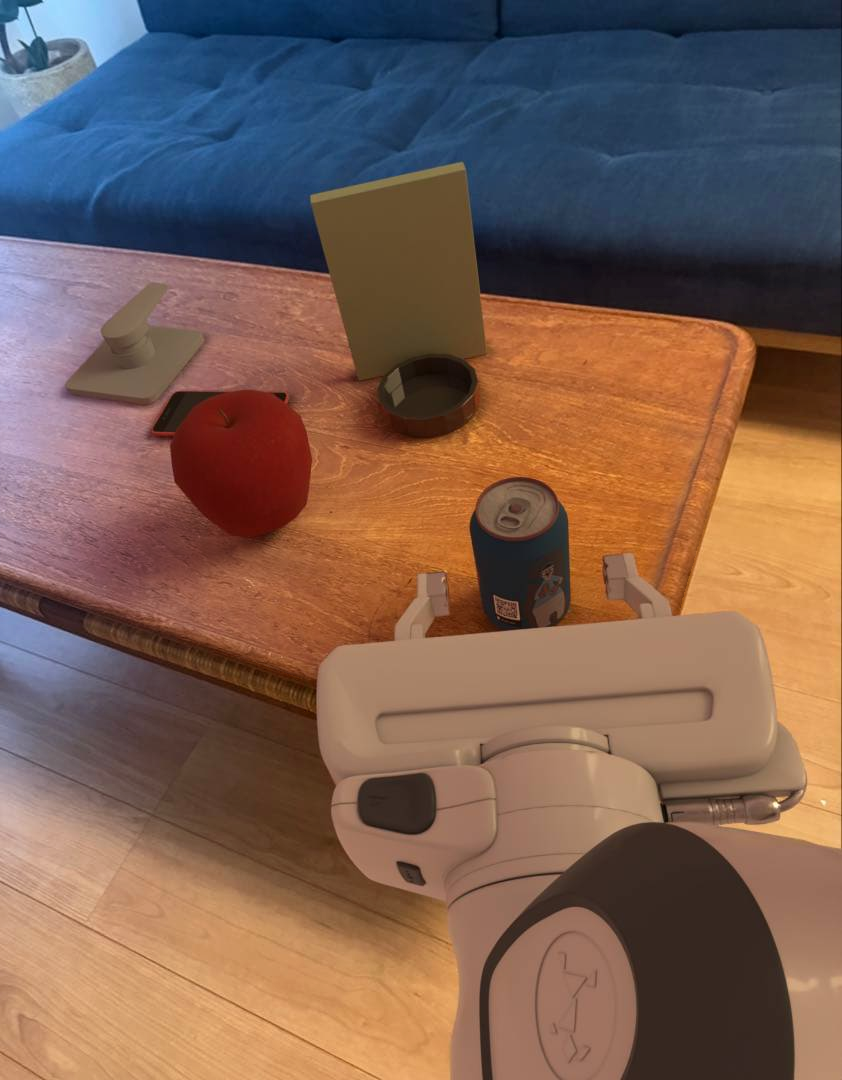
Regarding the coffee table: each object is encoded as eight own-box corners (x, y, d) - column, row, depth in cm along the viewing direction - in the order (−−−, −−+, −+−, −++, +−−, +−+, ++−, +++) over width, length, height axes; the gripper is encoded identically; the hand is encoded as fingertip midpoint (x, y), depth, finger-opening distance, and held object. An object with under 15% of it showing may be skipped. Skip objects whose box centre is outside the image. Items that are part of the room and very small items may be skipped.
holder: (470, 364, 86) (468, 345, 84) (488, 426, 80) (485, 406, 78) (378, 384, 86) (373, 365, 85) (387, 447, 80) (382, 428, 78)
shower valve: (202, 285, 95) (131, 366, 86) (218, 324, 99) (152, 406, 90) (116, 278, 99) (41, 355, 90) (135, 317, 103) (65, 393, 94)
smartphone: (270, 436, 83) (147, 433, 86) (271, 440, 83) (149, 437, 87) (290, 391, 87) (173, 389, 90) (292, 395, 87) (175, 393, 91)
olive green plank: (484, 345, 88) (462, 161, 73) (487, 354, 87) (465, 169, 72) (357, 372, 88) (309, 194, 73) (358, 381, 87) (310, 203, 72)
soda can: (503, 564, 68) (490, 461, 59) (583, 586, 66) (582, 482, 57) (469, 628, 65) (449, 530, 56) (552, 655, 62) (546, 556, 53)
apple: (253, 587, 71) (198, 480, 61) (183, 524, 77) (122, 418, 67) (356, 506, 75) (320, 394, 65) (281, 453, 82) (238, 344, 72)
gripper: (840, 785, 30) (740, 507, 39) (290, 821, 32) (318, 550, 41) (805, 849, 34) (724, 588, 43) (329, 877, 37) (346, 623, 46)
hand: (523, 570), depth 42 cm, fingers open, 8 cm apart
